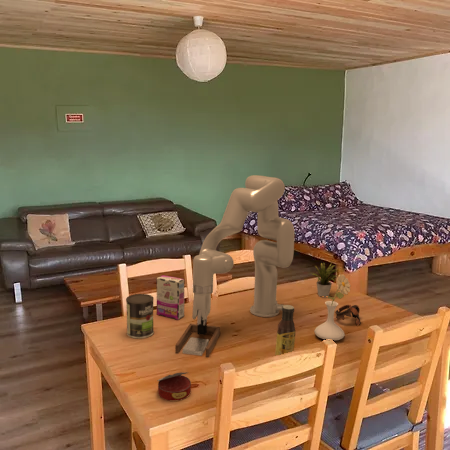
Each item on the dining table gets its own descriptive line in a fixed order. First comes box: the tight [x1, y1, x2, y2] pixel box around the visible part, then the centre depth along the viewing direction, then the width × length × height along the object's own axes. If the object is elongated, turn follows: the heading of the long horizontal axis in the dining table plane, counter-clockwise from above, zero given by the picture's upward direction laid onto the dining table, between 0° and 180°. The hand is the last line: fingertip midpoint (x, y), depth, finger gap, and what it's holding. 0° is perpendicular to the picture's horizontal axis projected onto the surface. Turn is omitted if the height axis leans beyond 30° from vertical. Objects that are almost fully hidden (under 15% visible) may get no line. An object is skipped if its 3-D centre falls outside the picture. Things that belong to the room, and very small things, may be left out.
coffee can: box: [125, 293, 155, 340], centre depth 183 cm, size 10×10×14 cm
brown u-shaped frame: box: [174, 323, 221, 358], centre depth 177 cm, size 12×19×3 cm, turn 168°
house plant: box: [312, 262, 340, 298], centre depth 226 cm, size 14×14×16 cm
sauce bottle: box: [274, 304, 296, 356], centre depth 163 cm, size 6×6×20 cm
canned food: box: [157, 372, 192, 401], centre depth 144 cm, size 11×10×10 cm
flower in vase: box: [314, 273, 351, 341], centre depth 182 cm, size 13×11×25 cm
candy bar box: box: [155, 274, 185, 321], centre depth 200 cm, size 11×5×16 cm, turn 62°
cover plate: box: [182, 337, 210, 357], centre depth 173 cm, size 7×10×2 cm
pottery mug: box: [334, 304, 362, 326], centre depth 200 cm, size 12×10×8 cm
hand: (202, 333), depth 182 cm, fingers closed
